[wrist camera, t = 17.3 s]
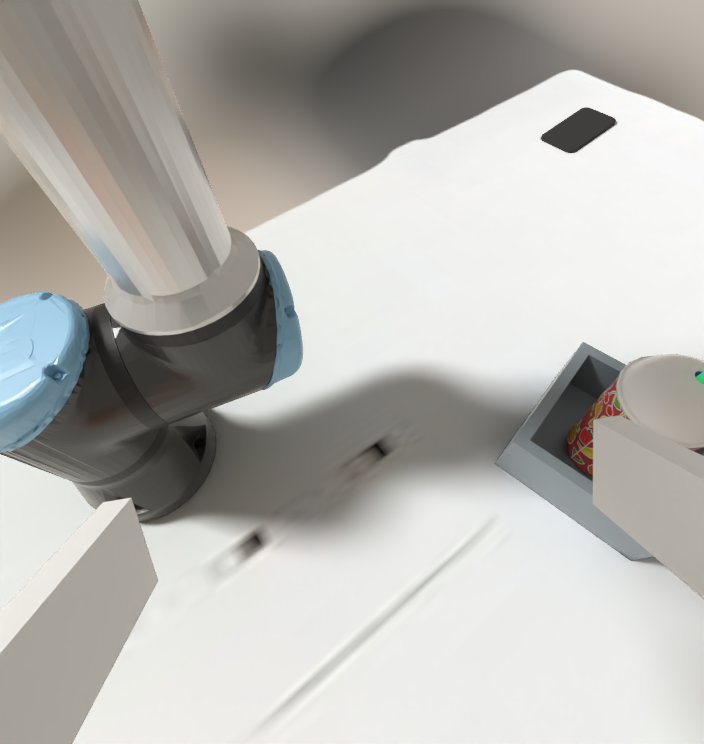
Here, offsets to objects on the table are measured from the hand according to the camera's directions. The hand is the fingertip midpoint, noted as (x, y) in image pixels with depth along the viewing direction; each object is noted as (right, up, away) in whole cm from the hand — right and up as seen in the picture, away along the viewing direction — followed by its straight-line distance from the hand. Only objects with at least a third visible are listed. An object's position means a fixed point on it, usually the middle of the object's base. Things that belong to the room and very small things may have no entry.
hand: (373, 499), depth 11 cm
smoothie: (+26, -6, +33) cm, 43 cm away
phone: (+43, +50, +67) cm, 94 cm away
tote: (+27, -6, +34) cm, 44 cm away
